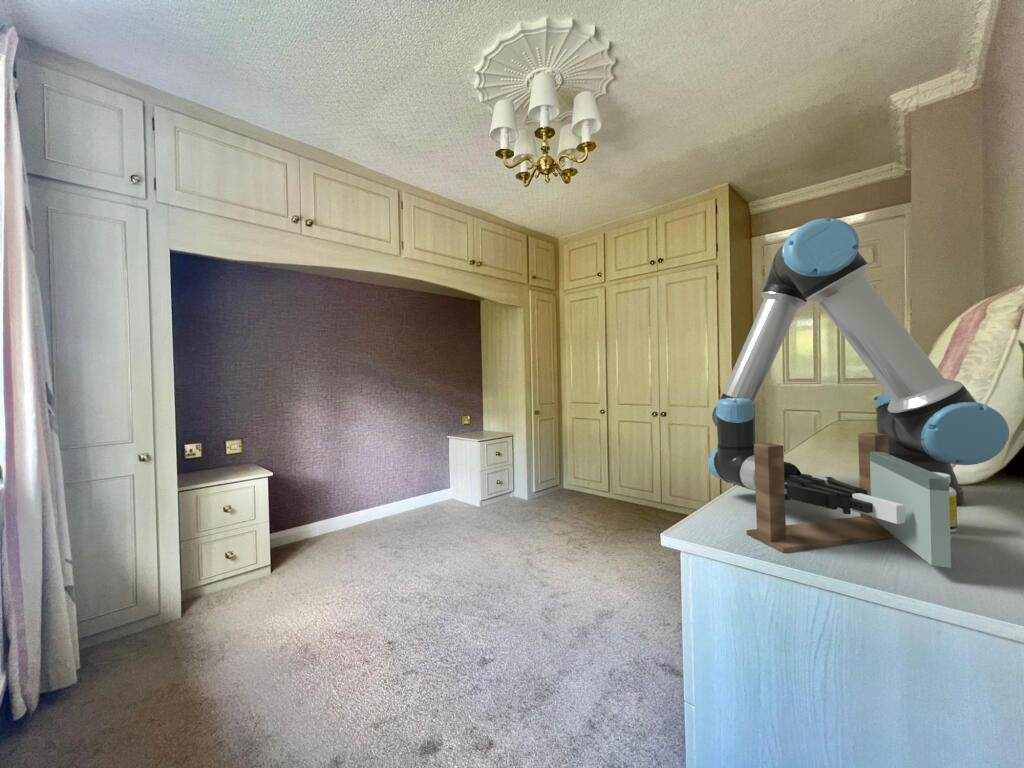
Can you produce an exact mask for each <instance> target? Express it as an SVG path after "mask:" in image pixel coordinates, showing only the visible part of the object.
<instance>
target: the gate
mask: <svg viewBox="0 0 1024 768" xmlns="http://www.w3.org/2000/svg"><path fill="white" fill-rule="evenodd" d="M870 479H871V496H873V497H876V498H880V499H884V500H888V501H892V502H895V503H899V504H903V505H904V510H905V523H901V524H895V523H892V522H889V521H885V520H882V519H879V518H876V517H872V518H873V519H874V520H875V521H877V522H878V523H879V524H880V525H882V526H883V527H884V528H885V529H887V530H888V531H889V532H890V533H892V534H893V535H894V536H895V537H894V538H897V539H898V541H900V542H902V543H903V544H904V545H905V546H907V547H908V548H909V549H910V550H911V551H913V552H914V553H915V554H917V555H918V556H919V557H920V558H922V559H923V560H924V561H925V562H926V563H928V564H929V565H930V566H932V567H934V566H935V567H942V568H952V559H951V558H952V551H951V550H952V549H951V548H952V547H951V533H950V503H949V479H947V478H945V477H942V476H940V475H937V474H935V473H933V472H930V471H928V470H926V469H923V468H921V467H918V466H916V465H914V464H911V463H909V462H906V461H904V460H902V459H899V458H897V457H894V456H892V455H890V454H887V453H885V452H870Z"/></svg>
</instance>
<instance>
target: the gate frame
mask: <svg viewBox="0 0 1024 768" xmlns="http://www.w3.org/2000/svg"><path fill="white" fill-rule="evenodd" d="M857 438H858V439H857V442H858V446H857V447H858V473H859V474H858V477H859V478H858V479H859V482H858V483H859V488H863V489H864V490H867V491H868V495H869V496H871V479H870V452H885V453H887V454H889V448H888V434H880V433H877V432H861V433H860V432H859V433H858V435H857ZM754 455H755V486H756V491H755V510H756V513H755V515H756V528H755V529H754V528H752V529H747V530H745V532H746V536H748V535H749V536H748V537H750V536H751V538H752V537H753V538H752V539H754V540H757V541H759V542H761V543H763V544H765V545H767V546H769V547H771V548H773V549H775V550H777V551H779V552H780V553H790V552H799V551H806V550H813V549H814V550H815V549H821V548H827V547H835V546H843V545H850V544H856V543H863V542H873V541H879V540H885V539H886V540H887V539H893V538H896V537H895V536H894V535H893V534H892V533H890V532H889V531H888V530H887V529H885V528H884V527H883V526H882V525H880V524H879V523H878V522H877V521H875V520H874V519H873V518H872V516H869V515H866V514H863V513H860V515H859V516H851V517H842V518H841V517H840V518H836V519H835V518H834V519H826V520H818V521H811V522H809V521H808V522H801V523H793V524H787V523H786V519H787V518H786V501H785V484H784V462H785V460H784V458H785V456H784V445H782V444H776V443H772V442H764V443H763V442H762V443H755V444H754Z"/></svg>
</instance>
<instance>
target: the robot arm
mask: <svg viewBox="0 0 1024 768" xmlns="http://www.w3.org/2000/svg"><path fill="white" fill-rule="evenodd" d="M859 249H860V239H859V235H858V233H857V231H856V230H855V229H854V227H852V225H851V224H849V223H847V222H845V221H844V220H841V219H839V218H838V219H837V218H830V217H828V218H826V217H823V218H818V219H814V220H810V221H808V222H805V223H804V224H802V225H801V226H799V227H798V228H797V229H796V230H795V231H793V232H792V233H790V234H789V235H788V236H787V238H786V240H785V241H784V243H783V244H782V246H781V247H780V248H779V249H778V250H777V252H776V253H775V255H774V257H773V261H772V262H771V266H770V270H769V272H768V273H769V274H768V276H767V279H766V282H765V284H764V287H763V290H762V292H761V294H760V295H761V297H762V299H763V301H762V303H761V305H760V308H759V310H758V312H757V314H756V317H755V319H754V321H753V324H752V325H751V328H750V330H749V333H748V334H747V337H746V339H745V341H744V344H743V346H742V349H741V350H740V352H739V355H738V357H737V359H736V362H735V365H734V366H733V368H732V371H731V374H730V376H729V377H728V380H727V383H726V384H725V387H724V389H723V392H722V394H721V397H720V398H719V399H718V400H717V401H716V406H715V407H714V409H713V410H712V413H711V417H712V418H711V419H712V423H713V424H714V426H715V427H716V431H717V432H716V433H717V434H716V435H717V448H716V449H714V450H713V451H712V452H711V453H710V456H709V458H708V460H707V466H708V469H709V471H710V473H711V474H712V475H713V476H714V477H716V478H717V479H719V480H722V481H723V482H725V483H727V484H731V485H735V486H738V487H740V488H741V487H742V488H745V489H747V490H750V491H753V492H756V486H755V455H754V444H756V443H755V441H756V440H755V438H756V437H755V432H756V431H755V430H756V429H755V416H756V412H755V408H754V405H755V402H756V400H757V398H758V396H759V394H760V393H761V390H762V387H763V385H764V384H765V381H766V380H767V377H768V375H769V372H770V370H771V369H772V366H773V363H774V362H775V359H776V358H777V355H778V353H779V352H780V348H781V346H782V344H783V343H784V341H785V338H786V336H787V333H788V332H789V329H790V327H791V325H792V323H793V321H794V319H795V317H796V314H797V312H798V310H799V309H800V308H802V307H804V306H806V304H807V302H808V301H812V302H817V303H818V304H820V306H821V307H822V309H823V310H824V312H825V313H826V314H827V316H828V317H829V318H830V320H831V321H832V322H833V324H834V325H835V326H836V327H837V329H838V330H839V332H840V333H841V334H842V336H843V337H844V338H845V340H846V341H847V342H848V344H849V346H851V347H852V348H853V351H854V352H855V353H856V354H857V356H858V357H859V359H860V360H861V361H862V362H863V363H864V365H865V366H866V368H867V369H868V370H869V372H870V373H871V374H872V376H873V377H874V379H875V380H876V381H877V383H878V384H879V385H880V386H881V388H882V389H883V390H884V392H885V393H883V394H880V395H879V396H878V397H877V398H876V406H875V412H876V433H880V434H888V448H889V454H890V455H892V456H894V457H897V458H899V459H902V460H904V461H906V462H909V463H911V464H914V465H916V466H918V467H921V468H923V469H926V470H928V471H930V472H939V473H945V474H948V475H950V480H951V482H950V484H949V487H952V488H953V489H954V490H955V491H956V496H957V505H961V504H963V503H964V501H965V499H964V498H965V497H964V496H965V495H964V490H963V488H962V487H961V486H960V484H959V481H958V478H957V475H956V473H955V472H954V469H953V466H952V464H953V465H957V466H958V465H959V466H972V465H973V466H974V465H979V464H981V463H985V462H988V461H990V460H992V459H993V458H995V457H997V456H998V455H999V454H1001V452H1003V450H1004V449H1005V446H1006V444H1007V442H1008V441H1009V437H1010V428H1009V424H1008V422H1007V420H1006V419H1005V417H1004V416H1003V415H1002V414H1001V413H1000V412H998V411H997V410H996V409H994V408H993V407H990V406H989V405H987V404H984V403H981V402H977V400H976V399H975V397H974V396H973V395H972V394H971V393H970V392H969V390H968V389H967V388H966V387H965V385H964V384H963V383H962V382H961V381H958V380H952V379H948V378H945V376H943V374H942V373H941V372H940V370H938V368H937V366H936V365H935V364H934V362H932V360H931V359H930V358H929V356H928V355H927V354H926V353H925V351H924V350H923V349H922V347H921V346H920V345H919V344H918V342H917V341H916V340H915V338H914V337H913V336H912V335H911V333H910V332H909V330H907V328H906V327H905V325H904V324H903V323H902V322H901V321H900V319H899V318H898V316H896V314H895V313H894V311H893V310H892V309H891V308H890V306H889V305H888V304H887V302H886V301H885V300H884V299H883V297H882V296H881V294H880V293H878V291H877V289H876V288H875V287H874V286H873V285H872V283H871V282H870V281H869V280H868V278H867V277H866V274H867V270H868V267H869V264H868V262H867V261H866V260H865V258H864V257H863V256H862V254H861V253H860V252H859ZM784 484H785V502H786V501H790V500H793V501H796V502H800V503H804V504H807V505H808V504H809V505H812V506H817V507H821V508H826V509H830V510H833V511H835V510H838V508H839V509H842V514H843V515H851V514H852V513H851V509H852V511H854V512H857V513H863V514H866V515H869V516H872V517H876V518H879V519H882V520H885V521H889V522H892V523H895V524H901V523H905V510H904V505H903V504H899V503H895V502H892V501H888V500H884V499H880V498H876V497H873V496H869V495H868V491H867V490H864V489H863V488H860V487H857V486H854V485H850V484H849V483H845V482H843V481H840V480H837V479H835V477H831V476H825V478H824V479H822V478H817V477H813V475H811V474H807V473H802V472H801V471H800V469H799V468H798V467H797V466H796V465H795V464H793V463H792V462H787V461H784Z"/></svg>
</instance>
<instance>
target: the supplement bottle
mask: <svg viewBox="0 0 1024 768" xmlns="http://www.w3.org/2000/svg"><path fill="white" fill-rule="evenodd" d="M933 473H935V474H937V475H940V476H942V477H945V478H947V479H949V484H950V482H951V480H950V475H948V474H945V473H939V472H933ZM949 503H950V534H952V533H955V532H957V531H958V509H957V508H958V504H957V496H956V491H955V490H954V489H953V488H952V487H949Z"/></svg>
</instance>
